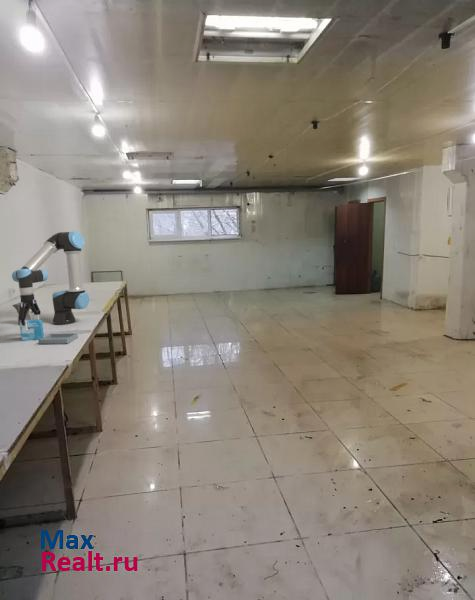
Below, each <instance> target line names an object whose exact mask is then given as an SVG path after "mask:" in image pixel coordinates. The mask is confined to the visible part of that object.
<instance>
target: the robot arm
mask: <svg viewBox="0 0 475 600" xmlns="http://www.w3.org/2000/svg"><path fill="white" fill-rule="evenodd" d="M84 246H85V238H84V236H83V234H81V233H80V232H79V231H78V232H77V231H65V232H63V231H62V232H61V231H60V232H57V233H55V234H53V235H52V236H50V237H49V238H48V239H47V240H46V241H45V242H44V243H43V246H41V248H40V249H39V250H38V251H37V252H36V253H35V254H34V255H33V256H32V257H31V258H30V259H28V261H27V262H26V263H25V264H24V265H23V266H22V267H21V268H20V269H16V270H14V271H13V272H12V273H11V278H12V280H13V281H14V282H16V283H18V288H19V290H18V291H19V293H20V295H19V296H20V297H19V298H20V302H21V301H23V304H20V310H19V313H18V316H19V317H18V316H17V321H18V320H21V323H22V329H23V331H27V330H28V329H27V322H26V320H25V318H26V315H27V312H28V310H29V311H30V310H31V312H33V313H32V314H34V315H33V318H34V319H33V320H36V319H40V315H41V310H40V307H39V306H38V303H37V300H36V299H35V294H34V286H33V285H34V284H36V283H42V282H45V281H47V280H48V278H49V276H48V272H47V271H46V270H45V269H40V267H42V265H43V264H44V263H45V262H46V261H47V260H48V259H50V257H51V256H52V255H53V254H56V253H57V252H58V251H59V250H60V251H61V250H63V253H65V254H66V263H67V264H66V267H67V277H68V284H69V288H68V290H67V289H66V290H61V291H56V292H53V293H52V296H51V297H52V305H53V312H54V315H53V318H52V323H53V325H55V326H63V325H70V324H74V323H75V322H76V317H75V315H74V313H73V311H72V310H73V309H74V310H84V309H86V308H87V307H88V305H89V303H90V295H89V294H88V293H87V292H86V289H85V288H84V287H83V277H82V269H81V258H80V257H81V255H80V253H82V249H83V248H84ZM22 307H23V308H22Z"/></svg>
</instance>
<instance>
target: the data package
mask: <svg viewBox="0 0 475 600" xmlns="http://www.w3.org/2000/svg"><path fill="white" fill-rule="evenodd" d="M26 322H27V329H28V330H27V331H23V329H22V323H20V325H19V331H20V337H21V340H22V341H25V342H26V341H28V342H29V341H38V340H39V339H41V338H43V337H45V333H44V326H43V320H42V319H40V318H39V319H36V320H34V319H31V320H26Z"/></svg>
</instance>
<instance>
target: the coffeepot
mask: <svg viewBox="0 0 475 600" xmlns="http://www.w3.org/2000/svg"><path fill="white" fill-rule="evenodd" d="M20 304H23V301H21V300H20V302H19V303H15V304H12V305H11V306H12V307H13V308H14V309H15V310H16V312H17V314H19V310H20ZM22 308H23V307H22ZM30 313H31V314H34V313H33V312H32V311H30V309H29V310H28V312H27V315H26V318H25V320H32V319H31V315H30ZM18 317H19V315H17V318H18ZM20 323H21V320H18V319H17V325H18V326H20Z"/></svg>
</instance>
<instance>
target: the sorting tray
mask: <svg viewBox="0 0 475 600" xmlns="http://www.w3.org/2000/svg"><path fill="white" fill-rule="evenodd" d="M78 338H79V337H78V333H77V332H76V333H74V332H69V333H67V332H66V333H50V334H47V335H44V336H43V338H41V339H39V340H37V341H38V345H41V346H42V345H45V346H46V345H50V346H51V345H68V344H70V343H72V342H74V341H75V340H77V339H78Z"/></svg>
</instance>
